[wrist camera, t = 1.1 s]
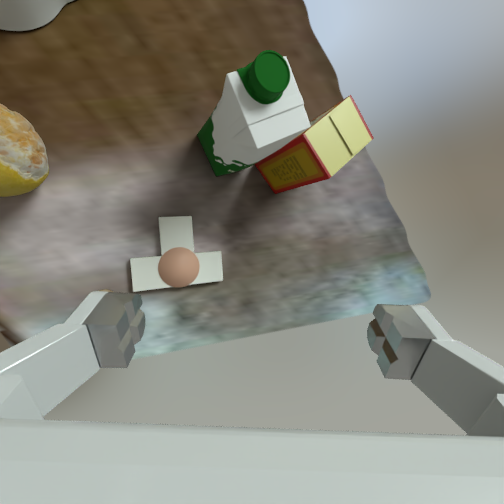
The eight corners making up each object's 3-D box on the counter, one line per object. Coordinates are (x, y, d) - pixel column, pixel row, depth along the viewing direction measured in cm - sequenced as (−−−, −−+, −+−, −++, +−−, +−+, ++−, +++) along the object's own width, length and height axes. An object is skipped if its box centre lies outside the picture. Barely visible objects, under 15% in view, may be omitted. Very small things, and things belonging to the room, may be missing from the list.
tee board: (126, 218, 41) (126, 218, 40) (217, 215, 46) (219, 215, 45) (133, 291, 42) (133, 293, 41) (221, 280, 47) (223, 281, 46)
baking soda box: (275, 193, 50) (331, 177, 35) (254, 163, 48) (304, 133, 33) (309, 164, 52) (375, 137, 38) (290, 134, 51) (353, 93, 36)
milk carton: (235, 114, 46) (298, 36, 28) (257, 165, 48) (329, 124, 30) (188, 131, 44) (224, 57, 25) (213, 184, 46) (263, 152, 27)
